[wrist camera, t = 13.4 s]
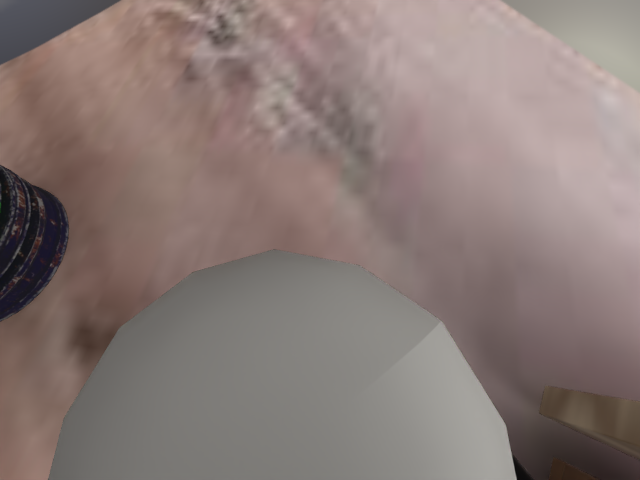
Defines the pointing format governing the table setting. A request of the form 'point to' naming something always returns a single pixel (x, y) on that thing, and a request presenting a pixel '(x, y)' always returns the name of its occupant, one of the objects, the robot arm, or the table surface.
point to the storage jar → (27, 241)
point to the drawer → (592, 424)
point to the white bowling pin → (283, 385)
